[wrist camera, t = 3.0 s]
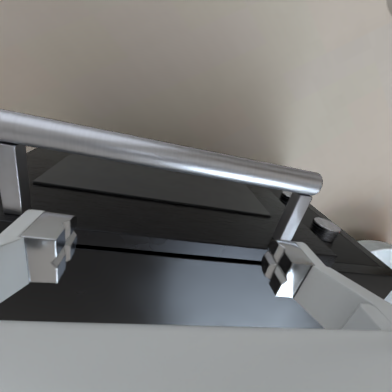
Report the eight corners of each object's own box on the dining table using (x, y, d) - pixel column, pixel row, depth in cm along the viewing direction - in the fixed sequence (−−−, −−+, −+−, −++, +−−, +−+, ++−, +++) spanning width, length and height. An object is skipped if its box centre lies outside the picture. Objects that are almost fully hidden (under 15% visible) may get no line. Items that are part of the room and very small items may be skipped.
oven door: (61, 87, 26) (-142, 87, 9) (262, 134, 32) (381, 189, 15) (62, 144, 29) (-89, 229, 12) (247, 178, 35) (331, 268, 17)
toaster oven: (58, 131, 30) (-126, 208, 11) (287, 175, 38) (413, 265, 19) (62, 285, 42) (-22, 450, 23) (236, 294, 50) (281, 424, 31)
